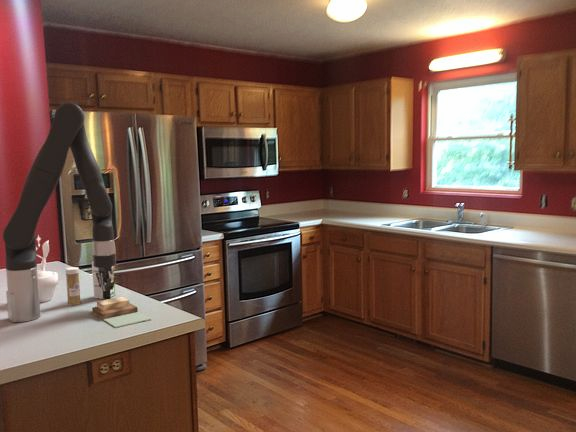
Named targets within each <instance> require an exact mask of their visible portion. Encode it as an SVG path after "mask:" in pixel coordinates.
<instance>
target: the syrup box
mask: <svg viewBox="0 0 576 432" xmlns="http://www.w3.org/2000/svg"><path fill="white" fill-rule="evenodd" d="M112 271H113V277H115V272H114V271H115V270H114V266H112ZM91 272H92V284H93V296H94V299H97V298H99V299H101V300H103V290H102V289H101V288H100V286H99V283H98V280H97V277H96V273H97V272H98V268H97V267H94V263H93V261H91ZM115 284H116V283H115ZM115 284H114V287H113V289H112V290H110V295H111V298H112V297H114V296H116V286H115ZM99 299H98V300H99Z"/></svg>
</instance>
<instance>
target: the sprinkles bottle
mask: <svg viewBox="0 0 576 432" xmlns="http://www.w3.org/2000/svg"><path fill="white" fill-rule="evenodd" d="M65 277H66V279H65V280H66V296H67V305H68V306H77V305H80V304H81V303H82V302H81V288H80V287H81V286H80V268H79V267H78V266H77V267H76V266H72V267H66V268H65Z"/></svg>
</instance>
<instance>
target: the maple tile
mask: <svg viewBox="0 0 576 432" xmlns="http://www.w3.org/2000/svg"><path fill="white" fill-rule="evenodd" d="M129 303H130V300H129V299H128V298H125V297H123V296H118V297H113V298H112V297H111V299H107V300H103V299H101V300H99V301H96V307H98V308H99V309H101V310H103V311H106V310H111V309H116V308H120V307H125V306H129Z"/></svg>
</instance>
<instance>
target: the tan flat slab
mask: <svg viewBox="0 0 576 432" xmlns="http://www.w3.org/2000/svg"><path fill="white" fill-rule="evenodd" d="M138 309H139V308H138V306H136V305H134V304H132V303H130V302H129V306H125V307H120V308H116V309H111V310H106V311H103V310H101V309H99V308H98V307H97V306H94V307H92V308H91V311H92V314H93V315H94V314H95V316H96V317H98V318H99V319H101V320H102V319H103V320H102V321H104V319H107V318H112V317H117V316H121V315H126V314H131V313H136V312H139V311H138Z"/></svg>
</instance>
